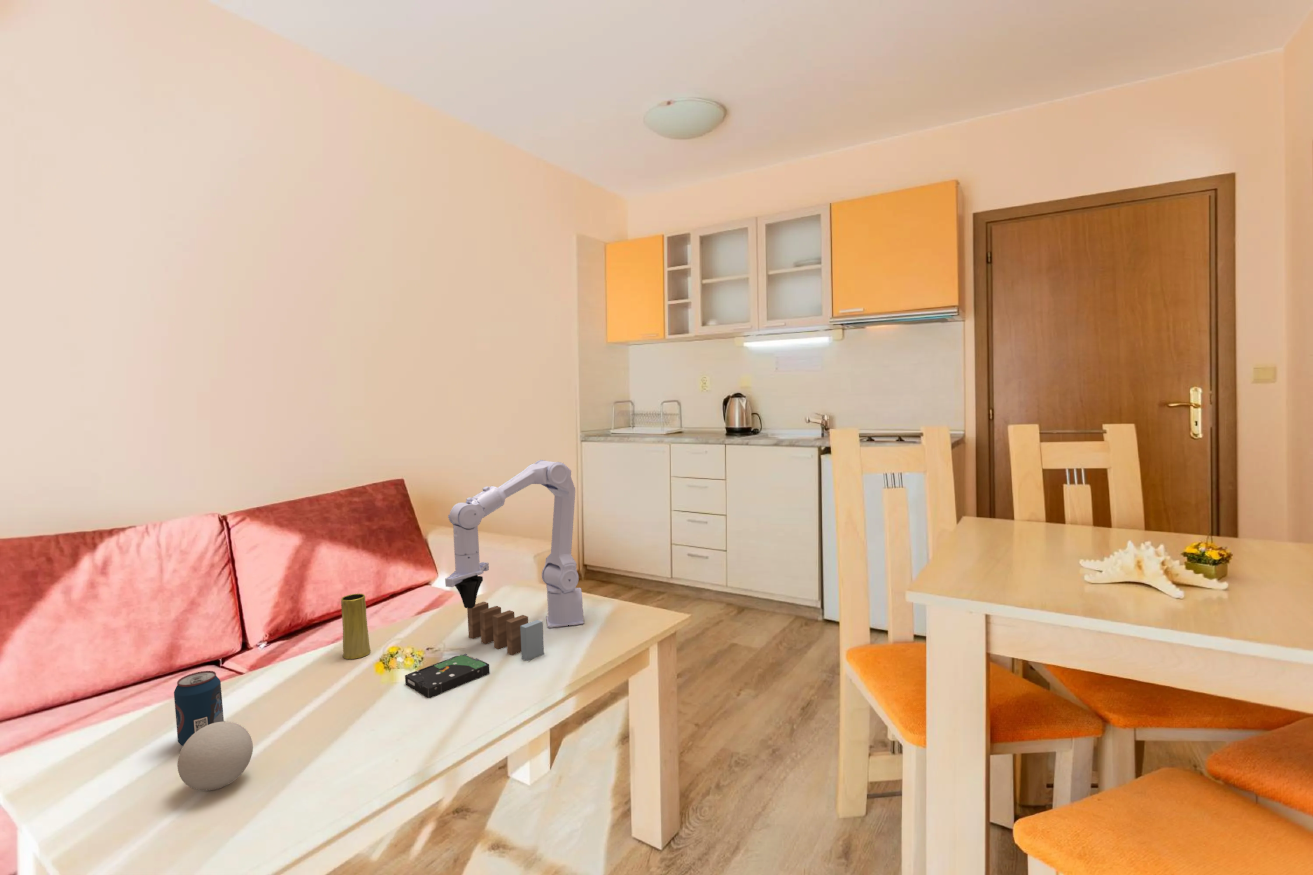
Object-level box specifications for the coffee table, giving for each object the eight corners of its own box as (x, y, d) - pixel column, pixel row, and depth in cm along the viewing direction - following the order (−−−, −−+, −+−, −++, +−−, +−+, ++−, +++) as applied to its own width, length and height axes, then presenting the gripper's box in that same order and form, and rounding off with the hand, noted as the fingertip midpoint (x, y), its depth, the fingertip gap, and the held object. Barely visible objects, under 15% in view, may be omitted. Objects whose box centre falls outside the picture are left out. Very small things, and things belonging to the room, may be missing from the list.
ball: (167, 809, 96) (161, 747, 96) (197, 772, 106) (193, 714, 105) (240, 798, 99) (235, 736, 98) (264, 762, 108) (260, 706, 108)
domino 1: (502, 637, 161) (501, 607, 160) (485, 644, 157) (484, 612, 157) (497, 636, 162) (496, 605, 162) (481, 642, 159) (479, 611, 158)
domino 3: (529, 648, 154) (528, 616, 153) (512, 655, 150) (510, 622, 150) (524, 646, 155) (522, 614, 155) (507, 653, 151) (505, 620, 151)
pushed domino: (489, 632, 165) (488, 602, 164) (473, 638, 161) (471, 608, 160) (485, 631, 166) (483, 601, 165) (468, 637, 162) (467, 606, 162)
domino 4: (544, 654, 150) (542, 621, 150) (527, 661, 146) (525, 627, 146) (538, 652, 152) (537, 619, 151) (521, 659, 148) (520, 625, 147)
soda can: (178, 739, 116) (172, 676, 116) (223, 726, 121) (218, 665, 120) (178, 756, 111) (172, 690, 110) (226, 741, 115) (220, 678, 114)
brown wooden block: (515, 643, 157) (514, 611, 157) (498, 649, 154) (497, 617, 153) (510, 641, 159) (509, 610, 158) (493, 647, 155) (492, 615, 154)
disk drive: (429, 701, 130) (490, 674, 141) (428, 688, 129) (490, 662, 141) (404, 687, 136) (464, 662, 148) (403, 675, 136) (464, 651, 147)
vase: (337, 657, 151) (333, 599, 150) (357, 647, 157) (354, 591, 156) (356, 661, 149) (352, 602, 148) (376, 650, 155) (372, 594, 154)
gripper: (462, 561, 145) (465, 619, 146) (498, 546, 158) (500, 599, 159) (436, 559, 147) (439, 616, 148) (474, 544, 161) (476, 596, 162)
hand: (469, 607), depth 154 cm, fingers closed
